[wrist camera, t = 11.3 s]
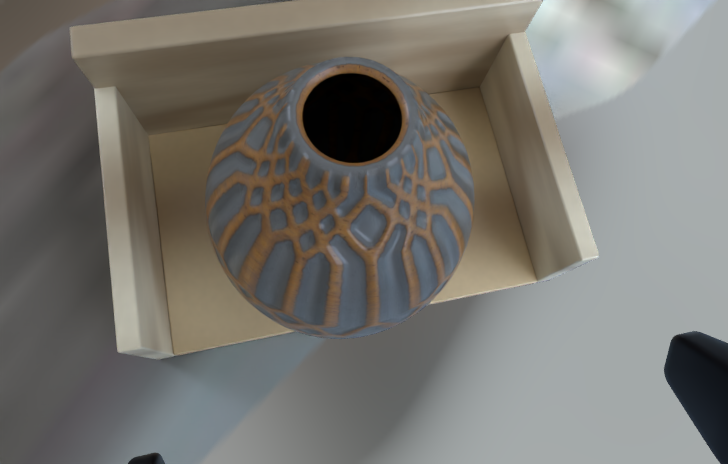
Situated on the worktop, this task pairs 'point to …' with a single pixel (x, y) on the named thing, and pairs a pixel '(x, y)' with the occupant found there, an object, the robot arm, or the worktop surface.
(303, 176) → the vase
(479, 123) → the shoe shelf
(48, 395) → the worktop surface
